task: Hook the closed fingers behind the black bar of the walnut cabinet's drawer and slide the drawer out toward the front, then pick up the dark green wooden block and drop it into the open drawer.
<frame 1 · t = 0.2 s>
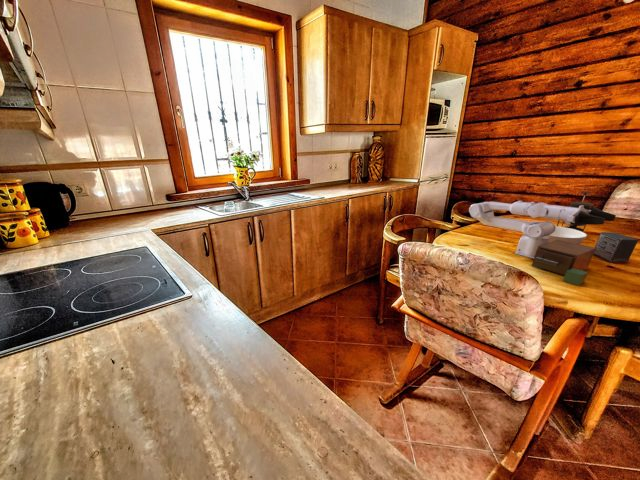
hand: (609, 219, 103), 21 cm above the table, tool horizontal, fingers open, 7 cm apart
cabinet: (558, 267, 116), on the table
small box: (608, 258, 121), on the table
block: (573, 281, 104), on the table
french press: (568, 234, 150), on the table
drawer: (557, 259, 112), point 5 cm above the table, slide at 0.5 cm
serving bowl: (552, 244, 139), on the table
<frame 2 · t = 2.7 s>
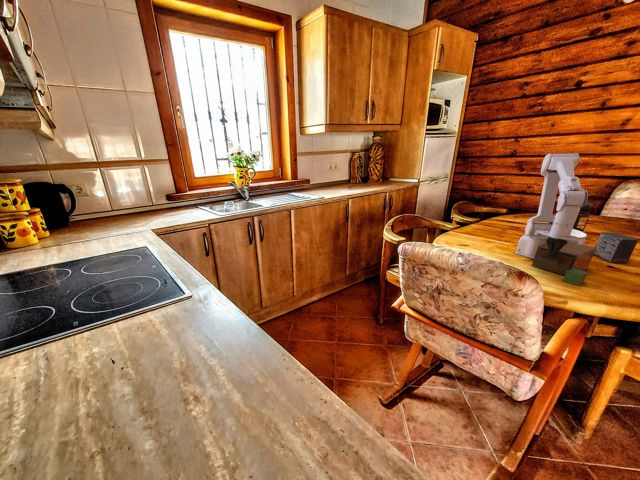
hand: (551, 256, 109), 7 cm above the table, tool pointing down, fingers closed, pressing on drawer
drawer: (557, 259, 112), point 5 cm above the table, slide at 0.2 cm, touching gripper
everything else where it was.
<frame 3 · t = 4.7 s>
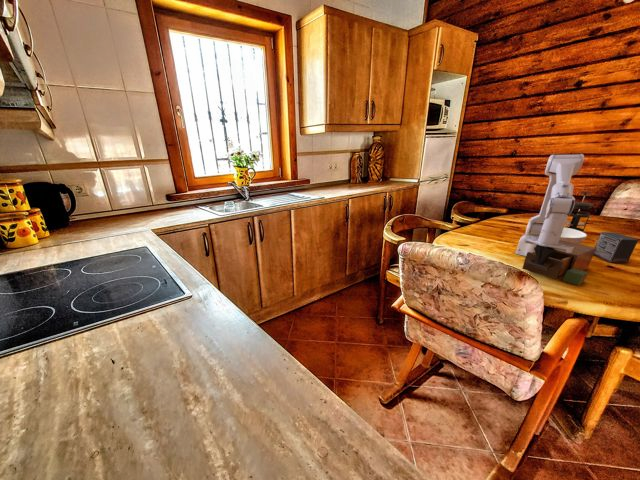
hand: (540, 265, 107), 5 cm above the table, tool pointing down, fingers closed, pressing on drawer
drawer: (547, 263, 110), point 5 cm above the table, slide at 7.4 cm, touching gripper
everything else where it was.
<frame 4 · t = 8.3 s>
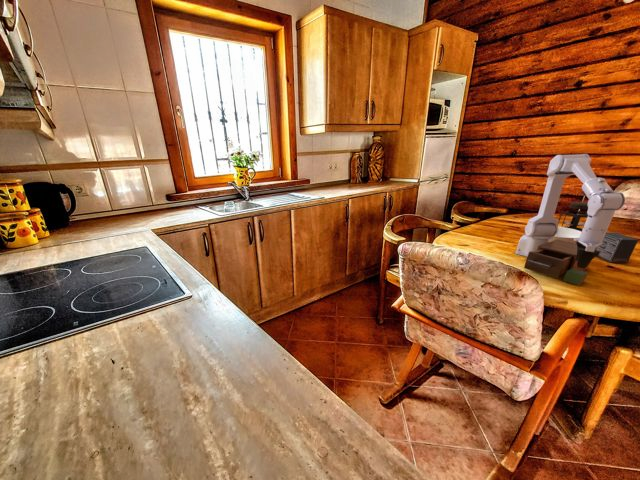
hand: (580, 264, 101), 7 cm above the table, tool pointing down, fingers open, 7 cm apart
drawer: (549, 262, 110), point 5 cm above the table, slide at 6.2 cm
everything else where it was.
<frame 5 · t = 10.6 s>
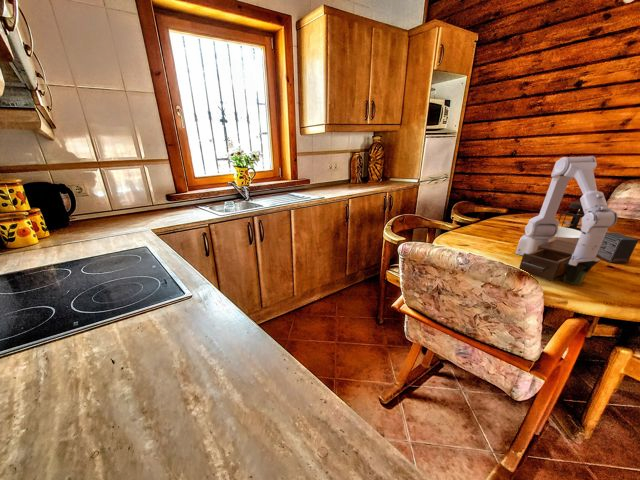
hand: (574, 278, 104), 1 cm above the table, tool pointing down, fingers open, 7 cm apart
drawer: (544, 264, 109), point 5 cm above the table, slide at 10.0 cm
everything else where it was.
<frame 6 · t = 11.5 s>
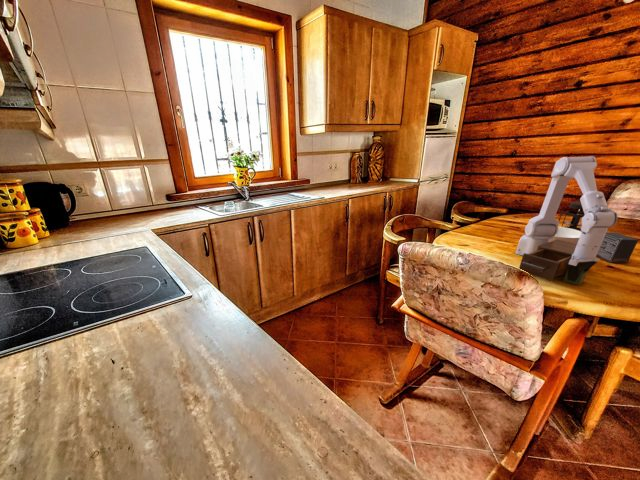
hand: (574, 278, 104), 1 cm above the table, tool pointing down, fingers closed on block, 4 cm apart
block: (572, 281, 104), on the table, touching gripper
everything else where it was.
when the fingers open (6 cm above the table, at t = 15.1 s): block drops 2 cm, resting on drawer.
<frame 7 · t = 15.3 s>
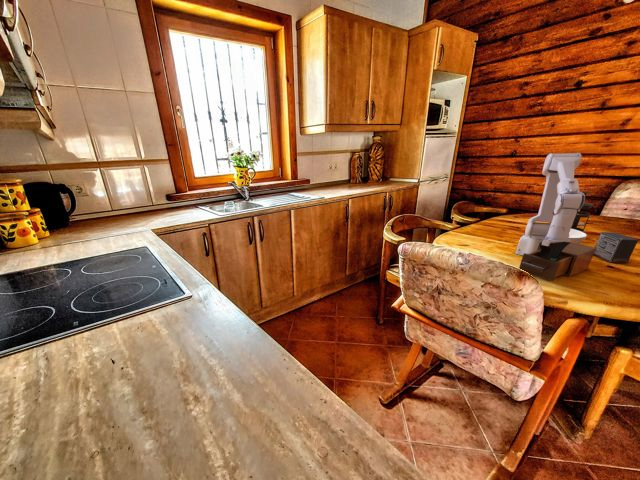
hand: (548, 259, 109), 6 cm above the table, tool pointing down, fingers open, 5 cm apart
block: (544, 268, 111), point 2 cm above the table, touching drawer
drawer: (544, 264, 109), point 5 cm above the table, slide at 10.0 cm, touching block
everything else where it was.
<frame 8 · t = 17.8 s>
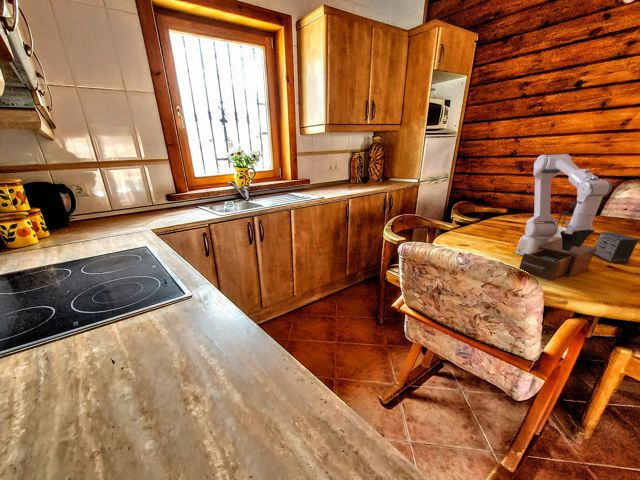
hand: (570, 248, 107), 10 cm above the table, tool pointing down, fingers open, 7 cm apart
nothing on the table moved.
at the end: drawer slide at 10.0 cm; block inside the target area in the drawer (0.5 cm from its centre), point 2.0 cm above the cabinet's base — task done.
